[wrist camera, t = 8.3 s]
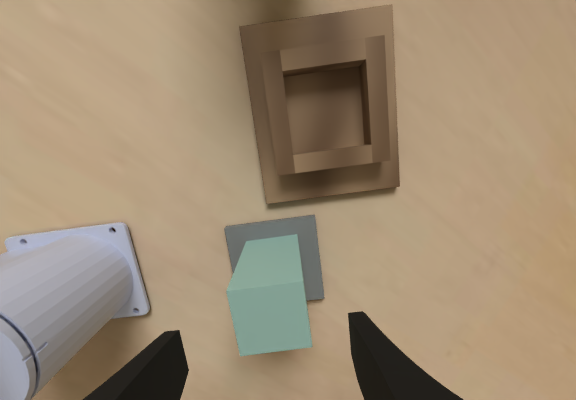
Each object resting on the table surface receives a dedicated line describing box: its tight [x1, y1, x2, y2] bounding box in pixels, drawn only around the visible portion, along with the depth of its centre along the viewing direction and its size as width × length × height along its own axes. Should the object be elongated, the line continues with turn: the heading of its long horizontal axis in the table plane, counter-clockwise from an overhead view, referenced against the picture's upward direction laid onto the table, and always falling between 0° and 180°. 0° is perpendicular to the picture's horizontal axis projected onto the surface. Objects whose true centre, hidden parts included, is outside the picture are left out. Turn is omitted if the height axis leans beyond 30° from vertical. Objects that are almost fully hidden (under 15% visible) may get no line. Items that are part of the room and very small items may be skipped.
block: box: [226, 234, 312, 356], centre depth 17 cm, size 4×4×7 cm
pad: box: [224, 215, 324, 301], centre depth 21 cm, size 7×7×1 cm
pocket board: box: [239, 4, 400, 204], centre depth 18 cm, size 10×12×2 cm
